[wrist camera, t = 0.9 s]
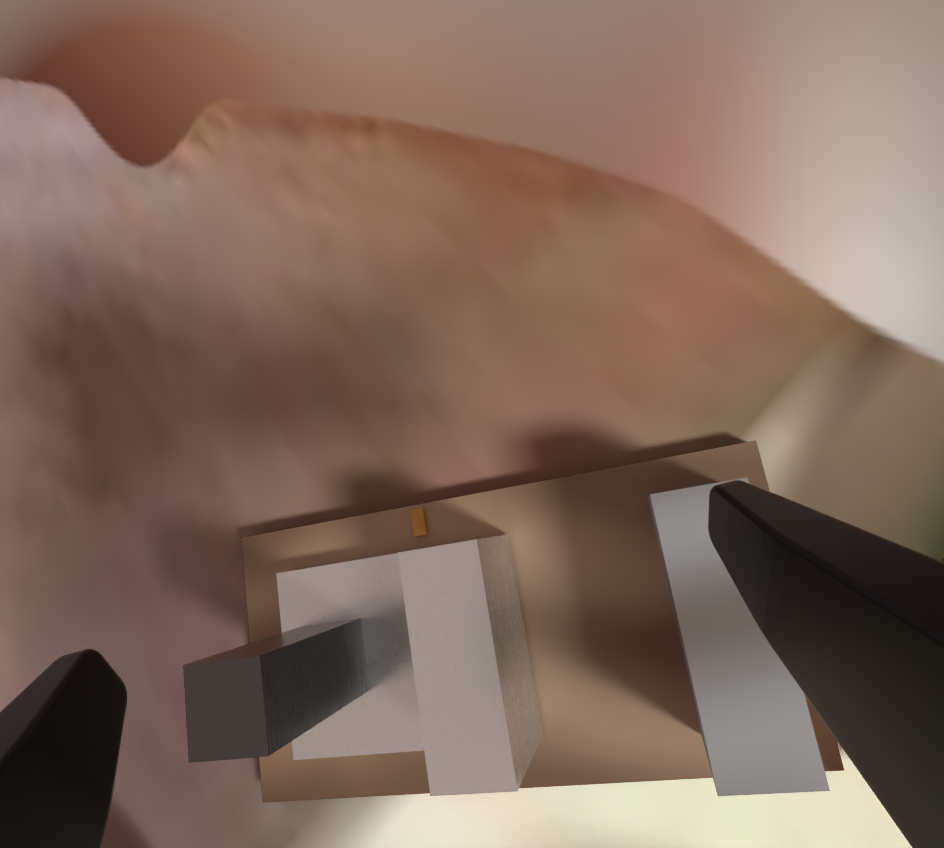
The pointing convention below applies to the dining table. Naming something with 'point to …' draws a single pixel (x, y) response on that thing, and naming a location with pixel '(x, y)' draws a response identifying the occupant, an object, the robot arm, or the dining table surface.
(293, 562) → the press base
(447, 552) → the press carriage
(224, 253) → the dining table surface
